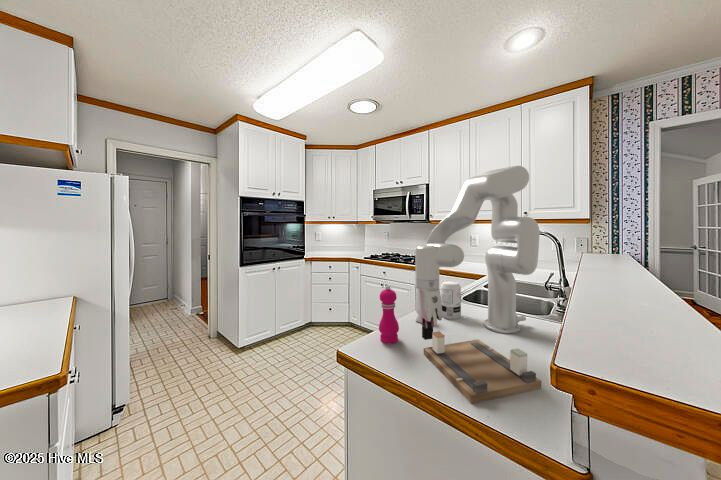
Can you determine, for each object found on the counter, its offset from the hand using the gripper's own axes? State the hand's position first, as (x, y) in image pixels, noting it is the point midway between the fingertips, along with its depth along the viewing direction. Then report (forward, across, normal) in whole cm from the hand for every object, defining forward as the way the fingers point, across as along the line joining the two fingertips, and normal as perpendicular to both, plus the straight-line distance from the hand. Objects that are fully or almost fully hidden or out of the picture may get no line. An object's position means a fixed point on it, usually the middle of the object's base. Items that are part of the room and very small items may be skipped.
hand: (427, 338), depth 89 cm
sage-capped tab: (+1, -22, -14) cm, 27 cm away
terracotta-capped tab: (+1, -6, 0) cm, 7 cm away
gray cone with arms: (+4, +23, -10) cm, 25 cm away
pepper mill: (+4, +11, +10) cm, 15 cm away
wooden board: (+4, -14, -7) cm, 17 cm away
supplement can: (+4, +24, -23) cm, 33 cm away
